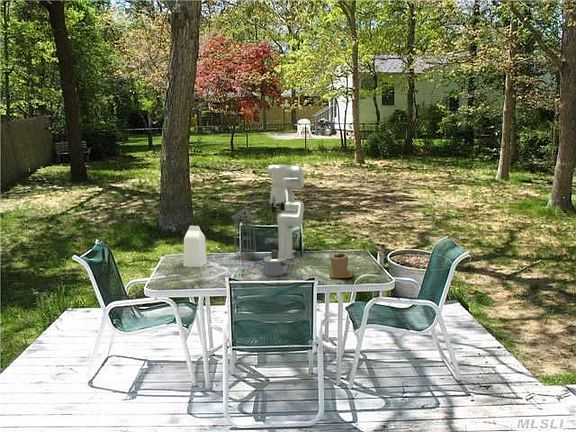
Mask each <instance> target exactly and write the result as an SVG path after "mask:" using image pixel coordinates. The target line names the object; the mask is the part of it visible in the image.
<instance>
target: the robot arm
mask: <svg viewBox="0 0 576 432" xmlns="http://www.w3.org/2000/svg"><path fill="white" fill-rule="evenodd" d="M266 174H267V175H268V176H269V177H271V189H270V199H269V205H270V208H271V213H272V214H276V213H277V207H276V205H277V204H279V207H280V208H279V210H280V211H281V212H280V213H278V214H277V215H276V221H277V229H278V256H282V257H285V258H286V260H291V259H294V258H295V255H294V254H295V253H296V250H295V249H293V231H292V229H291V228H290V227H301V226H302V224H303V219H304V210H305V205H304V202H303V201H302V200H299V199H297V200H296V199H295V198H296V197H295V194H294V193H293V191H291V190H292V189H296V190H299V189H303V188H304V186H305V178H304V172H303V168H302V167H301V165H295V164H294V165H293V164H292V165H290V164H289V165H288V164H268V166H267V168H266Z"/></svg>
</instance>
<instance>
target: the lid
mask: <svg viewBox="0 0 576 432" xmlns="http://www.w3.org/2000/svg"><path fill="white" fill-rule="evenodd" d="M278 255H279V249H278V250H277V249H272V250H271V251H270V255H269V256H265V257H263V260H264V261H267V262H282V261H286V260H287V259H286V258H285V257H282V256H278Z"/></svg>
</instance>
